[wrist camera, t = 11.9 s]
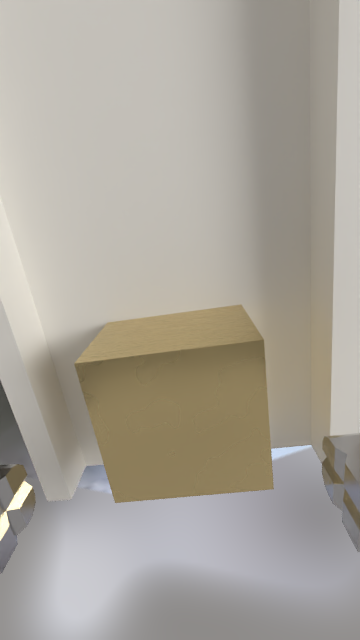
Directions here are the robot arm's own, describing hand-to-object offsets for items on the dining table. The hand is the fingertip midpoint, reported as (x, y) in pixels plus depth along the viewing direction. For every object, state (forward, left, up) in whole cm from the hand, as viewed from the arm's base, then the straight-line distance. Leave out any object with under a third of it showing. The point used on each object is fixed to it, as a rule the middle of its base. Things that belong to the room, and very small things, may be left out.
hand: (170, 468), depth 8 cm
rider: (0, 0, -6) cm, 6 cm away
